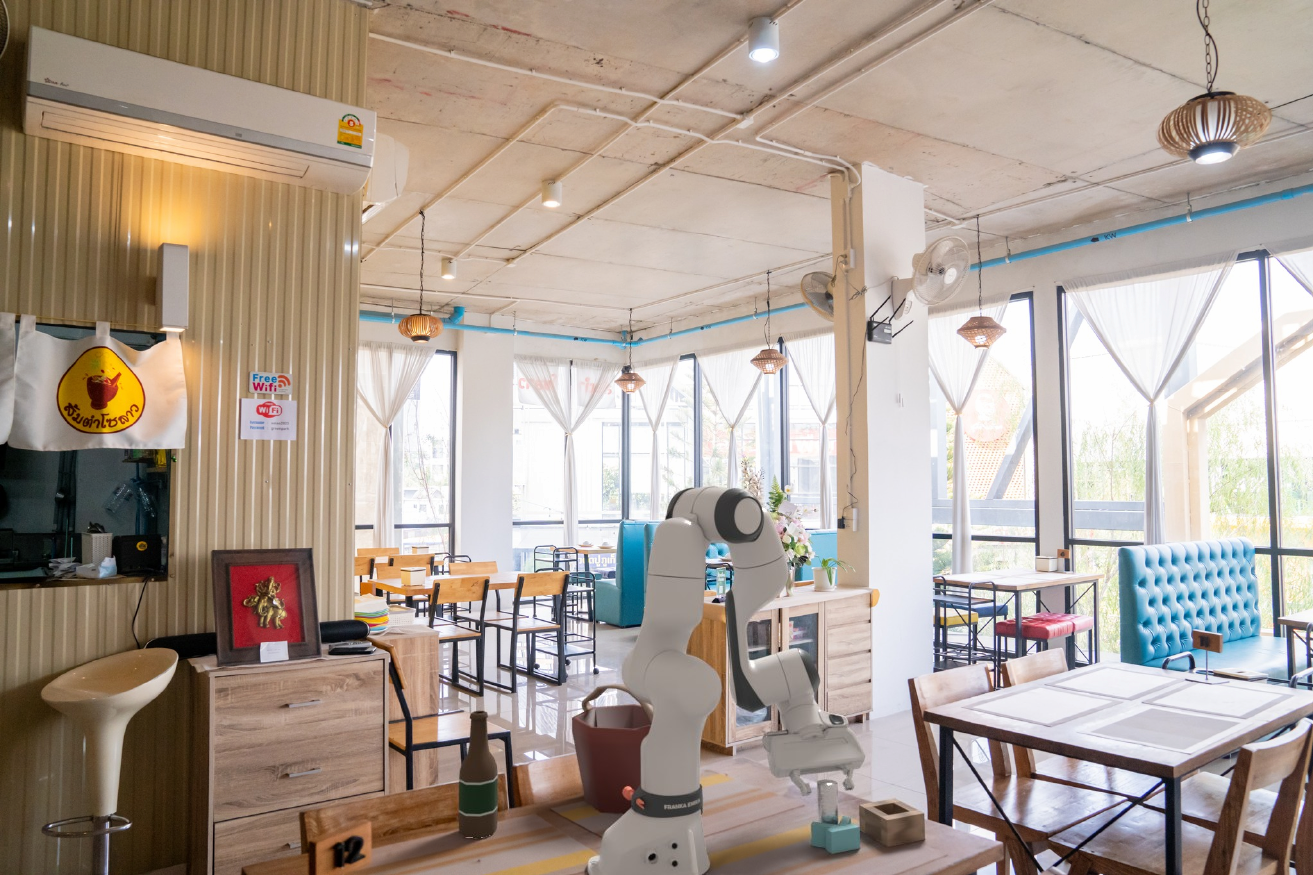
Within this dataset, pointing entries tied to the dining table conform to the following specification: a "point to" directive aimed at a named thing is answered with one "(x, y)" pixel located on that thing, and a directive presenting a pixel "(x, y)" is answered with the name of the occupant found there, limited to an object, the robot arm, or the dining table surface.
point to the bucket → (610, 749)
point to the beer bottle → (478, 783)
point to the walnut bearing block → (892, 822)
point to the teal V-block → (836, 836)
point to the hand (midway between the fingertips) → (828, 791)
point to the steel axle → (827, 801)
